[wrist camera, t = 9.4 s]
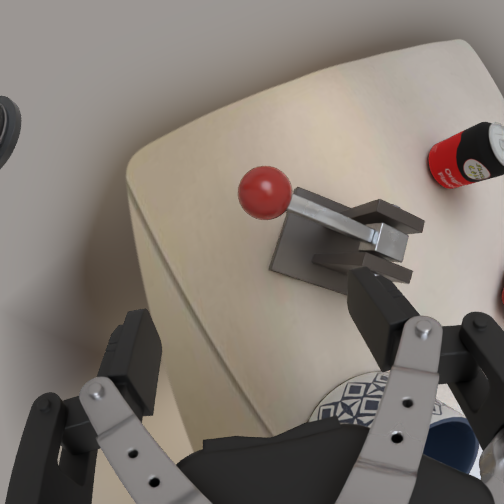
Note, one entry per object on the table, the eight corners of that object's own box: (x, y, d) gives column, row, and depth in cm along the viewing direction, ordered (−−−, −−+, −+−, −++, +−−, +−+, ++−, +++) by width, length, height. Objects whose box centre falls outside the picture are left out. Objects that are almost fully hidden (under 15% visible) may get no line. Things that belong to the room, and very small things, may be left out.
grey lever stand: (268, 269, 33) (302, 277, 20) (294, 188, 33) (340, 152, 21) (366, 301, 34) (435, 321, 22) (387, 227, 35) (460, 215, 22)
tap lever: (226, 211, 22) (235, 205, 19) (243, 165, 22) (254, 151, 19) (377, 269, 25) (404, 272, 21) (388, 228, 25) (416, 226, 22)
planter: (312, 486, 33) (348, 557, 19) (290, 396, 33) (334, 469, 19) (413, 443, 35) (470, 491, 21) (408, 351, 35) (486, 386, 21)
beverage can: (418, 147, 36) (478, 117, 24) (448, 143, 36) (506, 116, 24) (433, 193, 36) (498, 176, 24) (462, 186, 37) (524, 169, 25)
